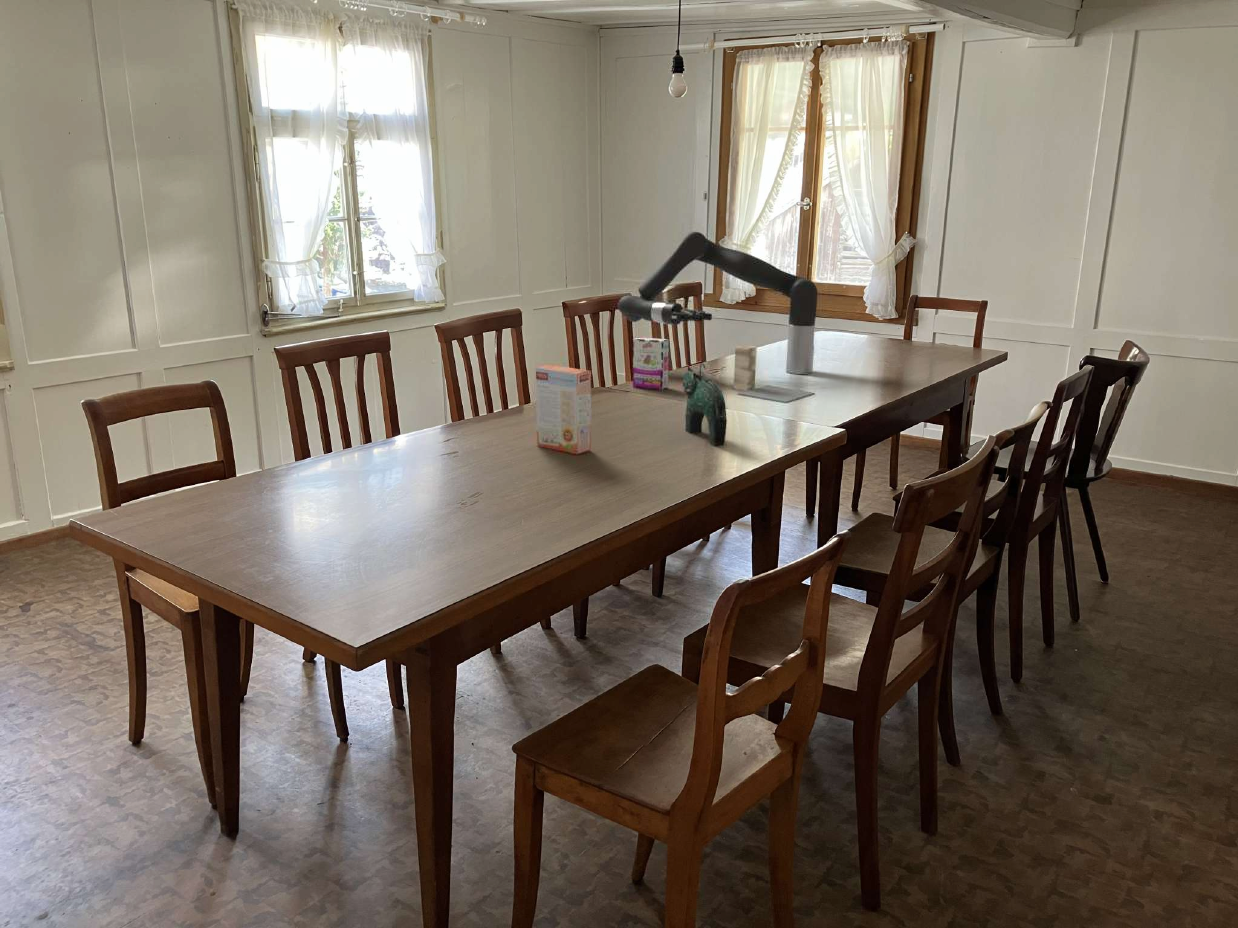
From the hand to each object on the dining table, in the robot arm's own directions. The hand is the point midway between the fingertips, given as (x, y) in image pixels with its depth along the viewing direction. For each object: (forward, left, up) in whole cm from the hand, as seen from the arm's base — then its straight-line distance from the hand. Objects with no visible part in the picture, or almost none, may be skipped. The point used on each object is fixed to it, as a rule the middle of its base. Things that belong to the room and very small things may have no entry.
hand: (706, 317), depth 327 cm
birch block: (0, +16, -22) cm, 27 cm away
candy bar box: (+20, -8, -22) cm, 31 cm away
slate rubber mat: (0, +29, -22) cm, 36 cm away
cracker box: (+94, +24, -22) cm, 100 cm away
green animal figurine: (+60, +44, -22) cm, 78 cm away
